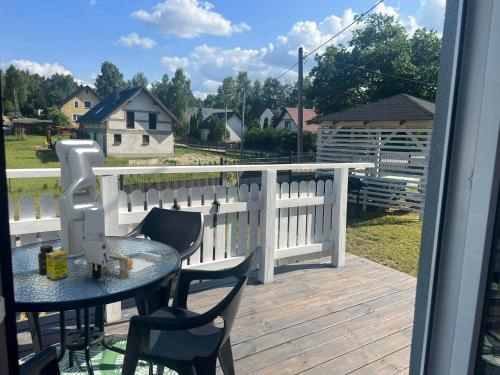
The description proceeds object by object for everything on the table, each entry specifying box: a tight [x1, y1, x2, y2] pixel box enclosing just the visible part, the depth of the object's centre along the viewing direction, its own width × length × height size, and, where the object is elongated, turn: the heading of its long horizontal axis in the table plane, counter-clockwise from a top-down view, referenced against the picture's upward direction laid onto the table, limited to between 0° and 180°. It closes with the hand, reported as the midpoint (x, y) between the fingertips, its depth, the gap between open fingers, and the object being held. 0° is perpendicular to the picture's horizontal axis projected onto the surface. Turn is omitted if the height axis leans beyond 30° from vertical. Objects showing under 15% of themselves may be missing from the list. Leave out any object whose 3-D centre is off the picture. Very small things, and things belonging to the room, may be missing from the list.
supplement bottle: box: [37, 244, 54, 276], centre depth 163 cm, size 7×7×12 cm
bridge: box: [101, 251, 129, 280], centre depth 163 cm, size 3×14×9 cm, turn 63°
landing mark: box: [113, 258, 155, 274], centre depth 176 cm, size 13×13×1 cm
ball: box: [128, 257, 133, 269], centre depth 171 cm, size 6×6×6 cm
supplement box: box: [46, 250, 69, 282], centre depth 159 cm, size 6×6×11 cm
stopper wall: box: [139, 251, 163, 263], centre depth 185 cm, size 2×12×2 cm, turn 63°
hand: (96, 278), depth 156 cm, fingers closed
